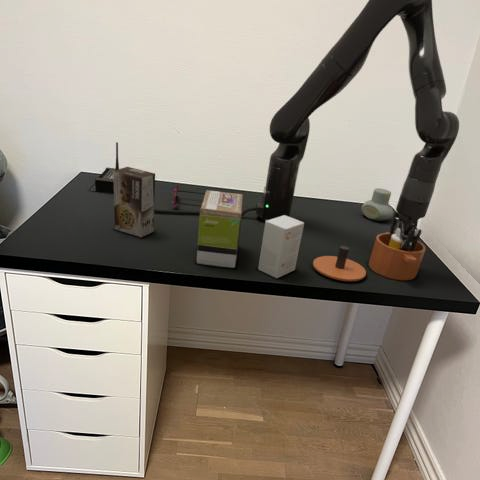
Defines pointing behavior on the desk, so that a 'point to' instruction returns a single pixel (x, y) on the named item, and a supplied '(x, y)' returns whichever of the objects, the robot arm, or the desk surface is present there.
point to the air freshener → (378, 206)
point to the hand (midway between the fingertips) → (396, 256)
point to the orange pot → (395, 259)
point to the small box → (280, 245)
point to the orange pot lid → (339, 266)
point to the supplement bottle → (396, 240)
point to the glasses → (178, 197)
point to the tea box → (219, 229)
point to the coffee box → (134, 201)
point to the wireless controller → (106, 178)
